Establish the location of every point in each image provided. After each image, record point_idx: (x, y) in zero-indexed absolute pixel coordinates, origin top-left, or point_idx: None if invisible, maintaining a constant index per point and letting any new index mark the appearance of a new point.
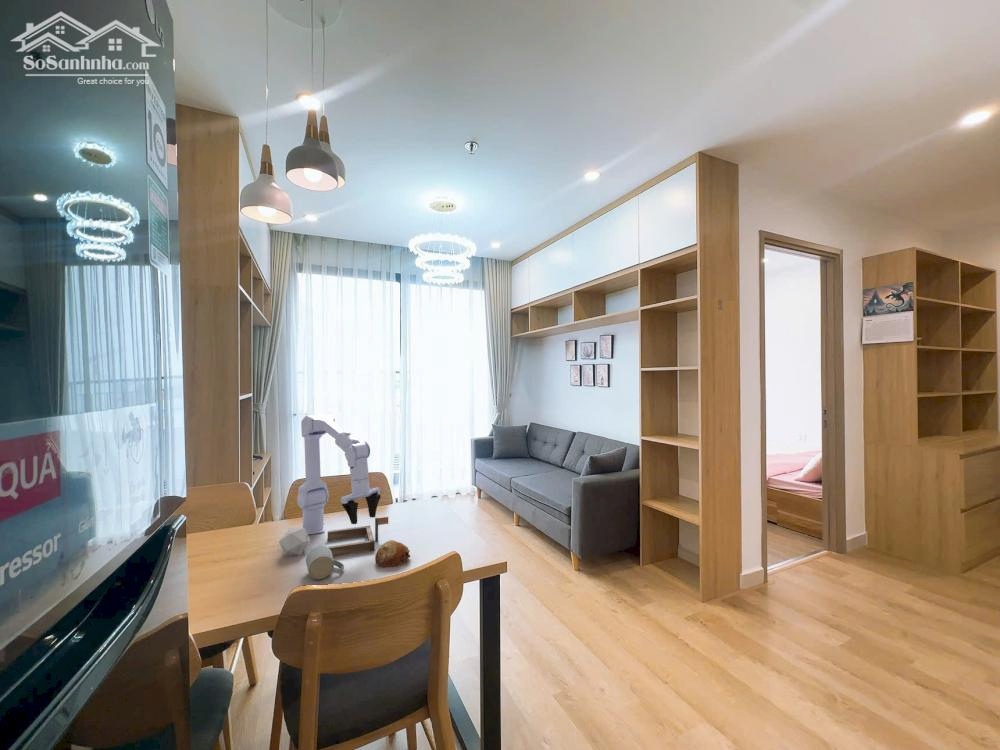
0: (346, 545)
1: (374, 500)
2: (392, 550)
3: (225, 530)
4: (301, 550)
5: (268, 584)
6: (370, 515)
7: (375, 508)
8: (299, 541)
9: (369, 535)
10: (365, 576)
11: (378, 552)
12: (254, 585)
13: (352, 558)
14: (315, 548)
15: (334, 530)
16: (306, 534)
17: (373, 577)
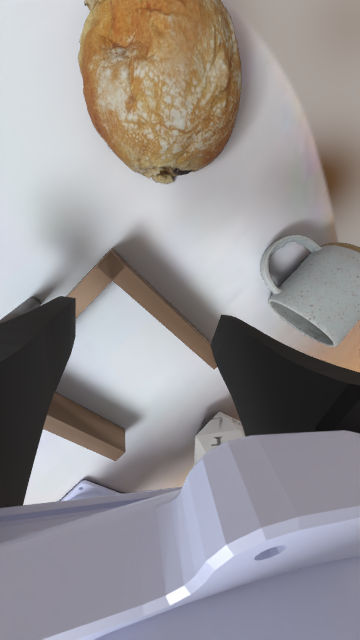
0: (187, 326)
1: (11, 374)
2: (223, 16)
3: None
4: (226, 416)
5: (342, 350)
6: (72, 336)
7: (38, 317)
8: None
9: None
10: (290, 139)
11: (228, 127)
12: (346, 368)
13: (194, 278)
14: (344, 333)
15: (100, 451)
16: None
17: (292, 100)
